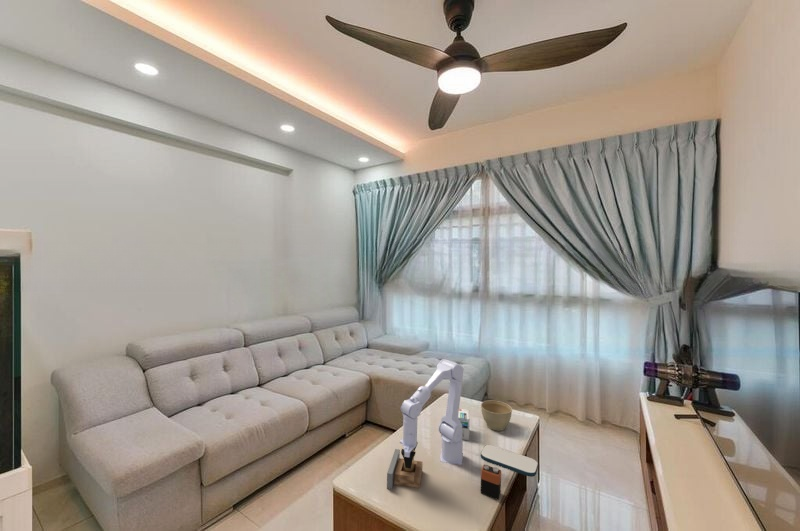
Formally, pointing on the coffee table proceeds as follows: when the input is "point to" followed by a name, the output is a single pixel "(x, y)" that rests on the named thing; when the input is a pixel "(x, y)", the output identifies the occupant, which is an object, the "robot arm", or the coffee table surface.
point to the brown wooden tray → (408, 474)
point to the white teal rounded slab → (510, 460)
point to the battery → (491, 481)
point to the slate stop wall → (392, 469)
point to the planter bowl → (496, 414)
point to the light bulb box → (464, 423)
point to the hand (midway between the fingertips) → (409, 464)
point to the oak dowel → (411, 466)
